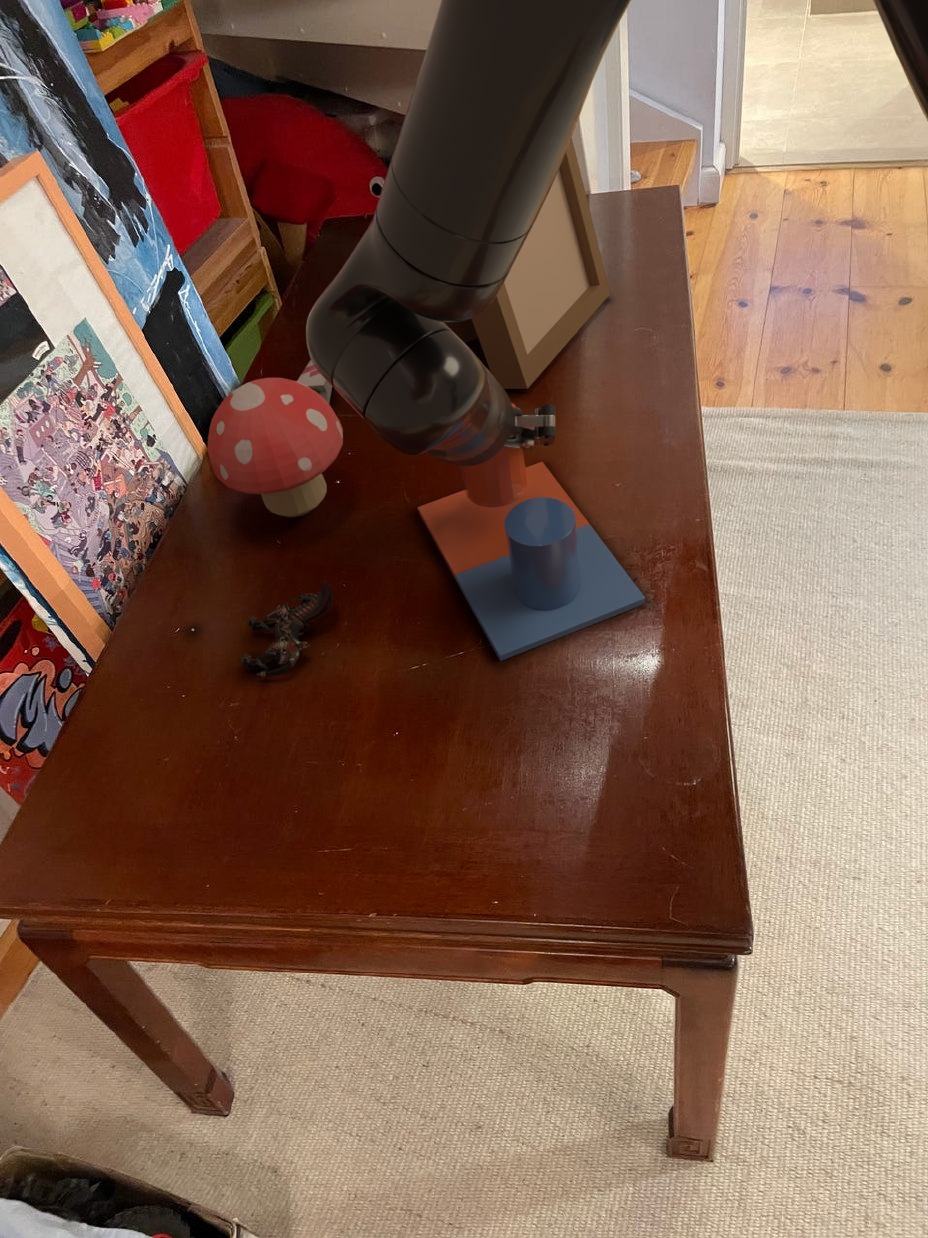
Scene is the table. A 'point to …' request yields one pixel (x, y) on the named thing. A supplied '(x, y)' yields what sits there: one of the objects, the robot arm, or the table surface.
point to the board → (486, 577)
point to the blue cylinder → (543, 553)
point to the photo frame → (543, 287)
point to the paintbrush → (316, 381)
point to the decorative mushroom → (275, 443)
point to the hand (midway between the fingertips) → (492, 439)
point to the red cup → (496, 479)
